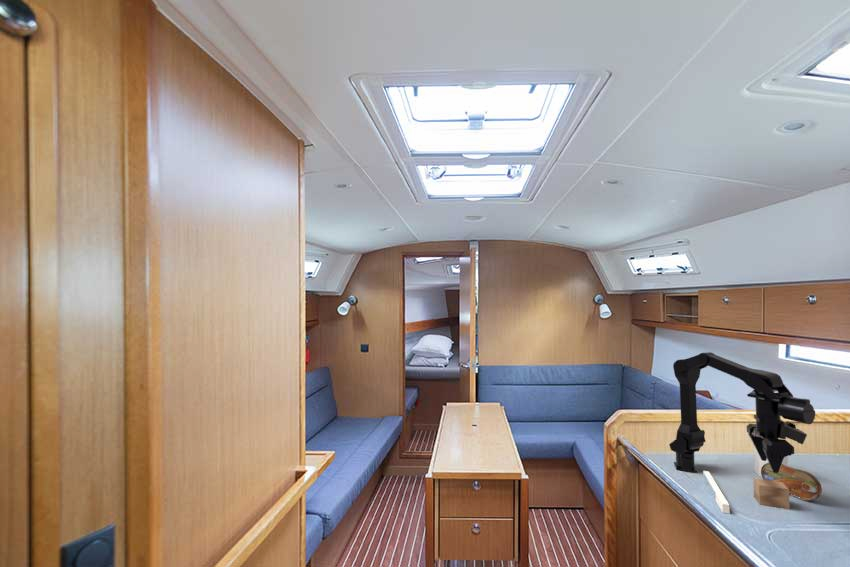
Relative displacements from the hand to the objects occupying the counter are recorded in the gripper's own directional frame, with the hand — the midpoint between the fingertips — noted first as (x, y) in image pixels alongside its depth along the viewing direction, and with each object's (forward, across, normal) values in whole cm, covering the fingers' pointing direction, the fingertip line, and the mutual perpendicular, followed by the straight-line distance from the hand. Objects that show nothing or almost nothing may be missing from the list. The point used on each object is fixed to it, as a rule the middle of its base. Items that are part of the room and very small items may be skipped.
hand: (769, 466), depth 122 cm
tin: (+11, +10, -8) cm, 17 cm away
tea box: (+11, 0, 0) cm, 11 cm away
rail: (+11, 0, +14) cm, 18 cm away
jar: (+11, +23, -7) cm, 26 cm away
